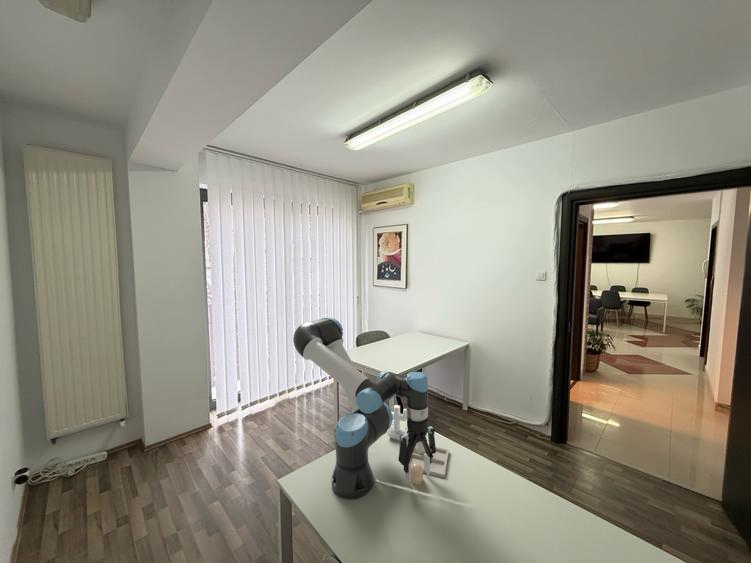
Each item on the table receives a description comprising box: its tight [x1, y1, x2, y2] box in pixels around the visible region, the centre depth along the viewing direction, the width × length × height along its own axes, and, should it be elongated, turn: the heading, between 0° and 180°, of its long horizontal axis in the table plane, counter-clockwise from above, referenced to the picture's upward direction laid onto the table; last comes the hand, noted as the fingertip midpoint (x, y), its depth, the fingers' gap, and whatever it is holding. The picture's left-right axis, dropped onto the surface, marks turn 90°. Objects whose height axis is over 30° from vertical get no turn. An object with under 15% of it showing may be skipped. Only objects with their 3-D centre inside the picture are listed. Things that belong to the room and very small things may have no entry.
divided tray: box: [409, 446, 450, 478], centre depth 117 cm, size 15×15×2 cm
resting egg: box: [415, 442, 426, 456], centre depth 122 cm, size 5×5×7 cm
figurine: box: [386, 404, 408, 441], centre depth 133 cm, size 7×9×15 cm
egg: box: [410, 463, 424, 486], centre depth 107 cm, size 5×5×7 cm
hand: (417, 475), depth 107 cm, fingers open, 7 cm apart
